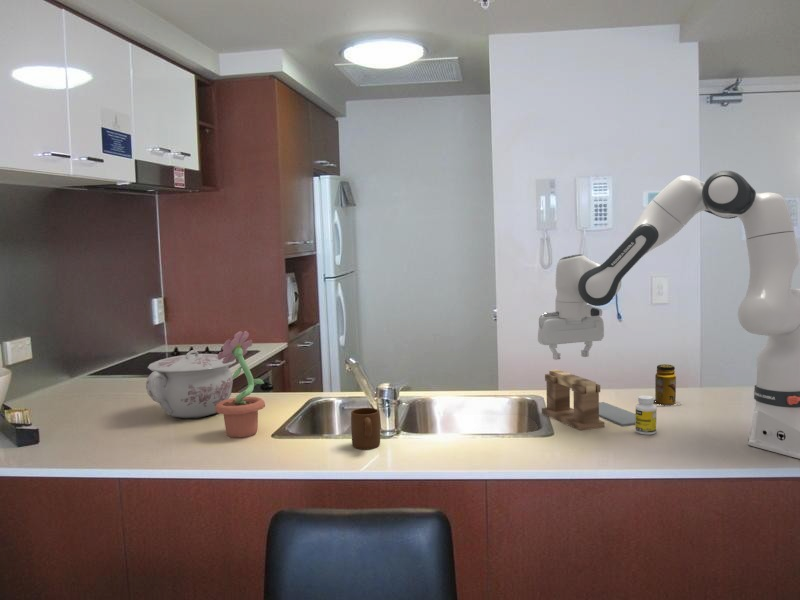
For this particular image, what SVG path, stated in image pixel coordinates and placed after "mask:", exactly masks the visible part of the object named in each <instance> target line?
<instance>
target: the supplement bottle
mask: <svg viewBox="0 0 800 600" xmlns="http://www.w3.org/2000/svg"><path fill="white" fill-rule="evenodd" d="M654 397H655V396H651V395H639V396H638V397H637V398H638V399H637V401H638V403H637V404H636V405H635V414H636V423H635V425H634V427H635V428H634V429H635V432H636V433H637V434H641V435H648V436H649V435H650V436H651V435H655V434H656V433H657V406H655V405H653V403H654V400H655V399H654Z"/></svg>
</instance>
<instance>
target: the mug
mask: <svg viewBox="0 0 800 600" xmlns="http://www.w3.org/2000/svg"><path fill="white" fill-rule="evenodd" d="M380 418H381V417H380V411H379V409H377V408H373V407H361V408H355V409H353V410H351V413H350V425H351V426H350V427H351V428H350V429H351V430H350V431H351V444H352V447H353V448H355V449H357V450H372V449H375V448H378V447H379V446H380V445H381V423H380V421H381V420H380Z"/></svg>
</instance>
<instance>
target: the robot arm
mask: <svg viewBox="0 0 800 600" xmlns="http://www.w3.org/2000/svg"><path fill="white" fill-rule="evenodd" d="M701 212H706V213H709V214H711V215H714V216H716V217H718V218H722V219H728V220H729V219H735V218H738V219H740V221H741V223H742V225H743V228H744V229H743V230H744V235H745V241H746V248H747V255H748V261H749V279H748V285H747V289H746V294H745V297H744V298H743V300H742V301H740V304H739V306H738V310H737V318H738V322H739V324H740V326H741V327H742V329H744V330H745V331H746V332H748V333H750V334H754V335H759V336H764V337H765V336H767V339H766V340H765V344H764V345H763V347H762V348H761V350H759V352H758V354H757V356H756V379H755V380H756V381H755V382H756V384H755V385H754V390H753V394H754V395H753V399H754V401H755V405H754V409H753V416H752V423H751V428H750V432H749V434H748V436H747V438H748V443H747V444H748V446H752V447H755V448H758V449H762V450H766V451H770V452H773V453H777V454H780V455H784V456H787V457H791V458H792V457H793V458H795V459H800V288H792V280H793V275H794V272H795V271H796V269H797V268H798V266H799V264H800V263H799V262H800V257H799V252H798V246H797V239H796V232H795V228H794V227H795V226H794V223H793V219H792V215H791V211H790V209H789V206H788V204H787V202H786V200H785V198H784V196H782V195H781V194H779V193H777V192H767V191H766V192H765V191H764V192H759V193H758V192H756V190H755V189H754V188H753V186H751V184H750V183H749V182H748V181H747V180H746V179H745V178H744V177H743V175H741V174H739V173H738V172H735V171H732V170H720V171H717V172H715V173H713V174H712V175H710V176H709V177H708V178H707V179H706V181H702V180H700V179H698V178H697V177H695V176H692V175H689V174H683V175H679V176H677V177H676V178H675V179H673V180H671V182H669V183H668V184H667V185H666V186H665V187H664V188H663V189H661V190H660V191H659V192H658V193H657V194H656V195H655V196H654V197H653V198H652V200H650V202H649V203H648V204H647V205H646V206H645V208H644V209H643V211H642V212H641V213H640V215H639V216H638V219H637V220H636V222H635V224H634V226H633V227H632V229H631V231H630V232H629V234H628V235H627V237H626V238H625V240H624V241H623V242H622V243H621V244H620V245H619V246H618V247H617V248H616V249H615V250H614V251H613V253H612V254H611V255H609V257H608V258H607V259H606V260H605V261H604V262H602V263H601V264H600V263H597V262H595V261H593V260H592V259H590V258H588V257H586V255H584V254H571V255H568V256H563V257H561V258H560V259H559V260H558V261H557V264H556V267H555V269H556V270H555V289H556V295H555V301H554V302H555V306H554V307H555V309H554V310H555V311H552V312H543V313H542V314H541V315H540V316H539V317H538V330H537V331H538V332H537V342H538V343H539V344H540V345H543V346H549V347H548V348H549V349H550V351H551V353H552V360H554V361H555V360H556V361H557V360H561V353H559V352H558V351H557V348H558V345H563V344H564V345H566V344H576V343H584V345H585V346H584V349H582V350H580V353H581V354H580V356H581V357H582V358H586V357H587V358H588V357H590V350H591V348H592V347H593V342H600V341H602V340H603V339H604V337H605V325H604V320H603V318H602V315H603V309H601V308H599V307H601V306H604V305H607V304H608V303H610V302H611V301H612V300H613V299H614V297H615V296H616V295H617V294H618V293H619V291H620V289H621V287H622V279H623V278H624V277H625V275H627V273H629V271H631V269H632V268H633V267H634V266H635V265H636V264H637V263H638V261H640V260H641V259H642V258H643V257H644V256H645V255H646V254H648V253H649V252H651V251H653V250H654V249H655V248H658V247H660V246H661V245H664V244H665V243H666V242H668V241H669V240H670V239H672V238H673V237H674V236H675V235H678V233H679V232H680V231H681V230H682V229H683V228H684V227H685V226H686V225H687V224H688V223H689V222H690V221H691V220H692V219H693V217H695V216H696V215H697V214H699V213H701ZM596 306H597V307H596Z"/></svg>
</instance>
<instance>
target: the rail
mask: <svg viewBox="0 0 800 600" xmlns="http://www.w3.org/2000/svg"><path fill="white" fill-rule="evenodd" d="M548 374H550V375H553V376H555V377H556V378H557V383H558V384H561V385H564V386H567V387H569V388H570V389H572V384H574V383H575V384H578V385H581V386H584V387H585V393H586V394H589V393H596V384H597V383H596V381H594V380H591V379H587V378H585V377H582V376H578V375H575V374H572V373H569V372H567V371H564V370H560V369H551V370H550V369H549V370H548Z"/></svg>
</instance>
